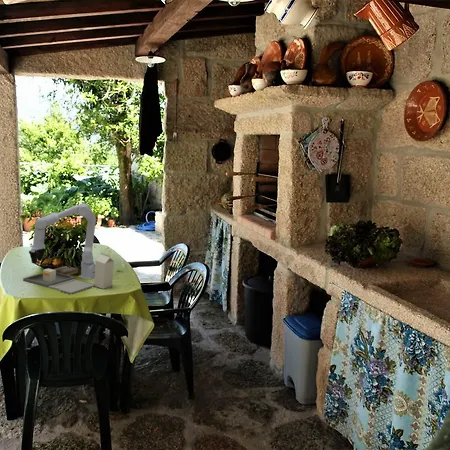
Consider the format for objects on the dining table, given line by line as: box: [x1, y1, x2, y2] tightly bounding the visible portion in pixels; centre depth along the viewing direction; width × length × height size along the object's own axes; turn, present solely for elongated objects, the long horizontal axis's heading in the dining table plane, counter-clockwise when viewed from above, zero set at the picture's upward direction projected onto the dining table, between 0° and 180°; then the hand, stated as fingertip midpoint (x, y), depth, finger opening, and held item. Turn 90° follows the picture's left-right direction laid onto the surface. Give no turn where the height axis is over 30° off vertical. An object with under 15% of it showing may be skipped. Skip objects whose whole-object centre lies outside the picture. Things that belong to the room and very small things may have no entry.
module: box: [42, 267, 56, 282], centre depth 290 cm, size 6×4×6 cm
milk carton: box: [93, 252, 115, 290], centre depth 283 cm, size 7×7×19 cm
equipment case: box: [22, 272, 97, 295], centre depth 286 cm, size 38×20×2 cm, turn 60°
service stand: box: [53, 265, 79, 276], centre depth 306 cm, size 10×10×3 cm
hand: (36, 261), depth 291 cm, fingers open, 7 cm apart
